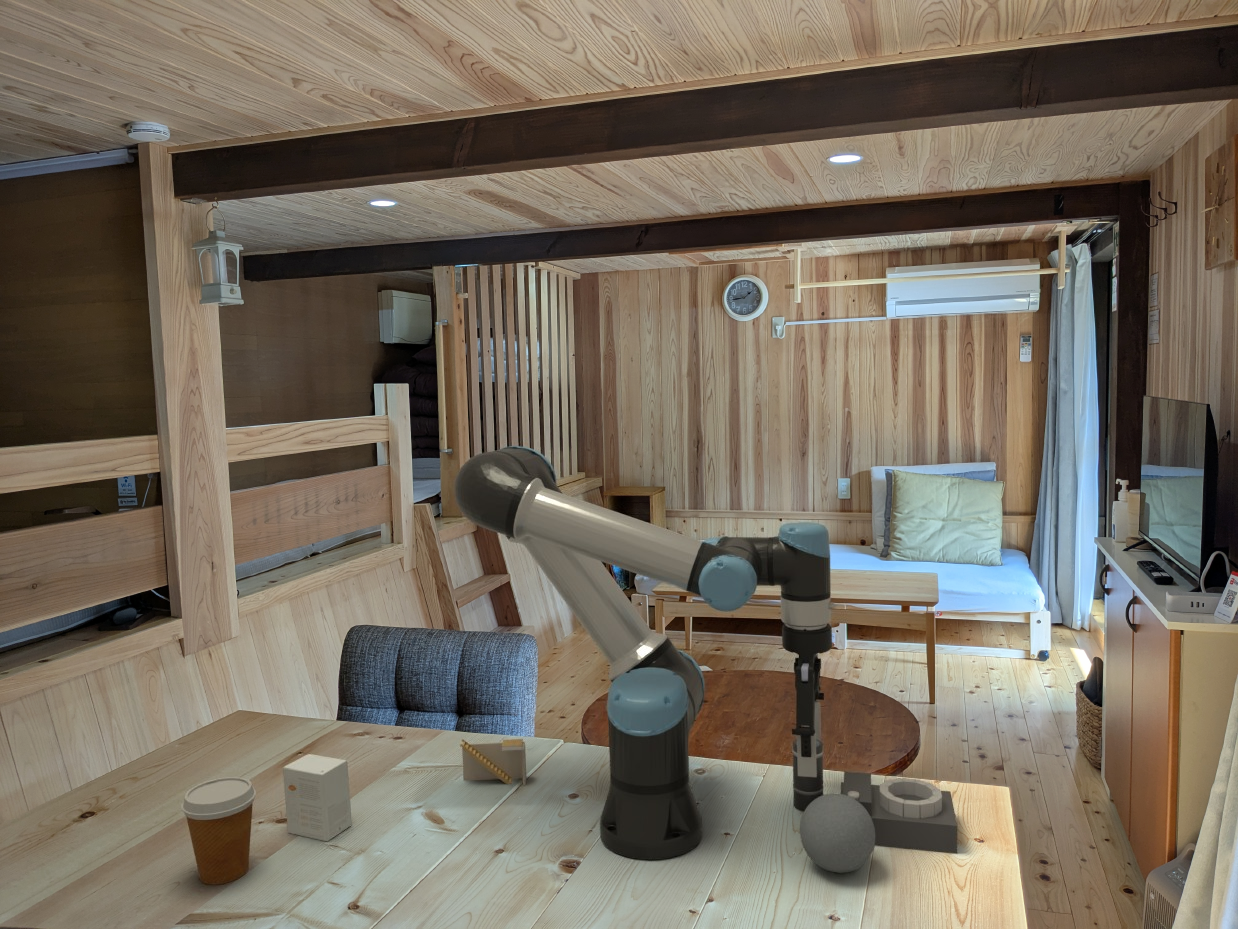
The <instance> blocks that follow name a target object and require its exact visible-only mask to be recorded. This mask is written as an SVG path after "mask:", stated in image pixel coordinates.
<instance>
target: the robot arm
mask: <svg viewBox="0 0 1238 929" xmlns="http://www.w3.org/2000/svg"><path fill="white" fill-rule="evenodd" d="M453 493H454V498H455V503H456V505H457V508H458V509H459V511H460V512H461V513H462V515H463V516H464V517H465V518H466V519H467V520H468V521H470V522H471V523H473V524H474V525H476V526H478V527H480V528H483V529H486V530H489V531H492V532H495V533H498V534H500V535H504V536H505V538H506V539H507V540H508V541H509V542H510V543H516V544H521V545H523V546H524V547H525V549H526V550H527V551H528V553H529V554H530V556H531V557H532V558H533V559H534V561H535V563H537V565H538V566H539V568H540V570H542V572H543V573H544V574H545V577H546V578H547V579H548V580H549V582H550V583H551V584H552V586H553V587H554V588H555V590H556V591H557V593H558V594H559V595H560V597H561V598H562V599H563V601H564V602H565V604H566V605H567V607H568V608H569V609H570V610H571V613H573V615H574V617H576V619H577V620H578V622H579V624H580V625H581V626H582V627H583V629H584V630H585V632H587V634H588V635H589V637H590V638H591V640H592V641H593V642H594V643H595V645H596V646H597V648H598V650H599V651H600V652H601V653H602V654H603V656H604V657H605V659H606V661H608V663H609V672H608V679H609V681H610V682H611V683H610V686H609V688H608V693H607V694H608V695H607V696H608V697H607V701H606V712H607V717H608V722H607V723H608V747H609V771H610V772H609V774H610V778H609V779H610V782H609V783H610V784H609V788H608V792H607V795H606V798H605V802H604V806H603V808H602V811H601V815H600V819H599V837H600V840H601V842H602V844H603V845H604V846H605V847H606V848H607V849H609V850H610V851H611V852H614V853H615V854H618V855H621V856H623V857H627V858H630V859H638V860H663V859H671V858H673V857H676V856H677V857H678V856H680V855H683V854H685V853H687V852H690V851H691V850H693V849H694V848H696V847H697V845H698V844H699V843H701V840H702V838H703V818H702V815H701V811H700V809H699V806H698V803H697V801H696V798H695V795H694V793H693V790H692V786H691V784H690V764H689V762H690V761H689V760H690V759H689V758H690V757H689V755H690V753H689V752H690V751H689V738H690V733H691V730H692V727H693V725H694V723H695V721H696V718H697V716H698V714H700V711H701V709H702V708H703V704H704V699H705V692H706V691H705V690H706V688H705V687H706V684H705V676H704V674H703V672H702V669H701V667H700V666H699V664H698V663H697V661H696V660H695V659H694V658H693V657H692V656H691V655H689V654H688V653H686V652H685V651H682V650H679V649H677V647H676V646H675V644H673V642H672V640H671V639H670V638H669V637H668V636H667V634H664V633H657V632H654V631H652V629H651V628H650V627H649V625H648V624H647V622H646V621H645V620H644V618H643V617H642V616H641V614H640V613H639V612H638V610H637V609H636V607H635V606H634V605H633V603H632V602H631V600H630V599H629V598H628V596H627V595H626V594H625V593H624V591H623V589H622V588H621V587H620V586H619V584H618V583H617V581H616V580H615V579H614V577H613V576H612V575H611V573H610V572H609V571H608V569H607V568H606V567H605V565H604V564H603V563H605V564H608V565H611V566H614V567H616V568H619V569H622V570H625V571H628V572H630V573H634V574H637V575H639V576H643V577H644V578H648V579H650V580H651V579H652V580H653V581H656V582H659V583H662V584H665V585H668V586H671V587H674V588H677V589H680V590H682V591H685V592H688V593H691V594H694V595H696V596H698V597H701V598H702V599H703V600H704V602H705V603H706V604H707V605H708V606H709V607H711V608H712V609H714V610H716V611H720V612H733V611H737V610H739V609H741V608H743V607H744V606H745V605H746V604H747V603H748V602H749V601H750V600H751V598H752V596H753V595H755V593H756V590H757V587H758V586H759V587H760V586H765V587H767V586H770V587H775V586H779V587H780V618H781V622H782V623H783V624H782V626H781V639H782V641H781V642H782V644H781V645H782V647H783V649H784V650H785V651H787V652H789V653H795V654H797V656H798V657H794V662H793V672H794V687H795V690H796V698H795V699H796V700H795V701H796V703H795V704H796V706H795V710H796V712H795V713H796V714H795V715H796V716H795V718H796V719H795V724H796V725H795V728H792V729H791V734H792V736H793V735H795V736H796V739H797V763H798V776H805V777H817V767H816V740H819V741H821V742H822V728H821V727H822V724H821V723H822V722H821V720H822V719H821V718H822V717H821V701H824V700H825V692H821V690H822V689H821V685H820V678H821V670H822V658H819V654H824V653H827V652H829V651H830V650H831V649H832V647H833V636H832V635H833V632H832V631H833V629H832V626H831V625H830V624H829V623H830V622H831V621H832V610H833V609H836V604H835V603H834V602H833V601H832V602H831V549H830V536H829V530H828V529H827V527H826V526H825V525H823V524H821V523H819V522H809V521H799V522H798V521H797V522H789V523H788V522H787V523H784V524H782V525H781V526H780V527H779V530H778V535H777V536H770V537H762V536H761V537H758V536H757V537H756V536H754V537H750V536H749V537H748V536H742V537H741V536H740V537H739V536H726V535H723V536H721V537H720V536H719V537H707V538H705V540H704V541H703V540H700V539H697V538H694V537H691V536H689V535H685V534H682V533H680V532H676V531H673V530H671V529H667V528H665V527H663V526H659V525H655V524H652V523H650V522H646V521H644V520H641V519H638V518H635V517H632V516H630V515H626V514H623V513H620V512H618V511H615V510H612V509H609V508H605V507H602V506H600V505H597V504H594V503H592V502H589V501H585V500H581V499H579V498H576V497H573V496H572V495H571V496H570V495H567V494H565V493H563V492H562V490H561V489H560V488H559V487H558V485H557V475H556V471H555V469H554V467H553V465H552V464H551V462H550V461H549V459H548V458H547V457H546V456H545V455H543V454H542V453H541V452H540V451H538V450H536V449H533V448H530V447H524V446H519V445H511V446H506V447H502V448H499V449H497V450H493V451H487V452H486V451H485V452H481V453H478V454H476V455H474V456H472V457H470V458H469V459H468V460H467V461H465V462H464V463H463V465H462V466H461V467H460V468H459V471H458V472H457V474H456V477H455V479H454V485H453Z"/></svg>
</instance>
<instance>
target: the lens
mask: <svg viewBox="0 0 1238 929" xmlns="http://www.w3.org/2000/svg"><path fill="white" fill-rule="evenodd" d="M823 747H824V745H823V742H822V740H821V741H819V740H816V767H817V777H805V776H798V763H797V738H796V739H794V740H793V741H792V748H791V749H792V751H791V752H792V790H793V794H792V795H793V796H792V798H793V803H792V804H793V805H792V806H793V808H795V810H797V811H799V812H803V813H804V811H805V809H806V808H807V806H808V805H809V804H810V803H811V802H812V801H813V800H815V799H816V798H818V797H820V796H823V795H824V789H825V788H824V748H823Z"/></svg>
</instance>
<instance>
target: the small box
mask: <svg viewBox="0 0 1238 929" xmlns="http://www.w3.org/2000/svg"><path fill="white" fill-rule="evenodd" d="M348 767H349V766H348V760H347V759H341V758H334V757H330V756H325V755H324V756H323V755H319V754H318V755H316V754H313V753H311V754H310V753H308V754H306V755H303V756H302V757H300V758H298V759H296V760H294V761H293V762H290V763H288V764H287V765H285V766H283V767H282V772H283V783H284V784H283V786H284V800H285V812H286V826H287V833H289V834H291V835H292V834H293V835H297V836H302V837H306V838H311V839H314V840H318V841H323V842H329V841H331V839H333V838H335V837H336V836H338V835H339V834H340V833H342V832H344V831H345V830H346V829H348V828H349V827H351V826H352V825H353V820H352V818H353V817H352V808H351V807H352V806H351V795H350V794H351V793H350V782H349V779H350V778H349V769H348Z"/></svg>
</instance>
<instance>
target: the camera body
mask: <svg viewBox="0 0 1238 929" xmlns="http://www.w3.org/2000/svg"><path fill="white" fill-rule="evenodd" d="M843 773H844V774H843V782H841V783H840V793H839V794H843V795H846V796H849V797H851V798H853V799H855V800H856V801H858V802H859V803H860V804H861V805H862V806H863V807H864V808H865V809H866V810H867V812H868V813H869V815H870V817H871V819H872V821H873V824H874V828H875V845H874V846H878V847H879V846H880V847H889V848H898V849H900V848H901V849H908V850H909V849H910V850H919V851H928V852H929V851H931V852H938V853H939V852H941V853H951V854H958V822H957V817H956V812H955V807H954V802H953V798H952V792H951V791H950V790H949V791H948V790H941V789H940V788H939V787H937V786H936V785H934V784H932V783H931V782H928V781H925V780H921V779H917V778H907V777H905V778H904V777H898V778H891V779H887V780H885V781H883V782H882V783H881V784H880V785H879V784H872V773H871V772H870V773H868V772H858V771H857V772H856V771H844V772H843Z"/></svg>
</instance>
